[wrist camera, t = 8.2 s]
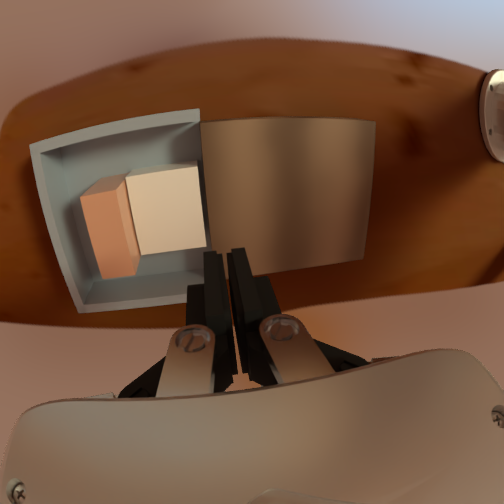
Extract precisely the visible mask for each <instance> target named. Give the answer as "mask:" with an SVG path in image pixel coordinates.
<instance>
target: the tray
mask: <svg viewBox="0 0 504 504" xmlns="http://www.w3.org/2000/svg"><path fill="white" fill-rule="evenodd" d="M199 121H200V112H199V109H190V110H182V111H174V112H167V113H160V114H153V115H147V116H141V117H136V118H130V119H125V120H120V121H115V122H111V123H106V124H102V125H97V126H93V127H89V128H85V129H81V130H77V131H73V132H70V133H66V134H63V135H59V136H56V137H52V138H49V139H46V140H43V141H40V142H36V143H33V144H31V145H29V146H30V152H31V158H32V164H33V169H34V174H35V179H36V184H37V188H38V193H39V197H40V201H41V205H42V209H43V213H44V217H45V220H46V224H47V227H48V231H49V234H50V237H51V241H52V244H53V247H54V250H55V253H56V256H57V259H58V262H59V265H60V268H61V270H62V273H63V276H64V278H65V281H66V284H67V286H68V289H69V291H70V294H71V296H72V299H73V301H74V303H75V306H76V308H77V310H78V313H90V312H101V311H112V310H122V309H132V308H141V307H151V306H160V305H168V304H177V303H185V302H187V286H188V285H193V284H203V283H204V263H203V252H207V251H212V249H211V241H210V232H209V223H208V213H207V204H206V194H205V184H204V173H203V162H202V150H201V138H200V125H199ZM195 160H197V165H198V175H199V185H200V194H201V203H202V212H203V221H204V229H205V238H206V246H207V247H199V248H191V249H184V250H176V251H168V252H161V253H154V254H146V255H141V257H140V260H139V264H138V268H137V271H136V275H132V276H124V277H116V278H108V279H103V278H102V275H101V272H100V269H99V266H98V263H97V260H96V256H95V253H94V250H93V246H92V243H91V239H90V236H89V232H88V228H87V224H86V221H85V217H84V212H83V208H82V204H81V200H80V196H82V195H83V194H84V193H85V192H86V191H87V190H88V189H89V188H90V187H92V186H93V185H94V184H95V183H96V182H97V181H98V180H100V179H101V178H103V177H108V176H113V175H119V174H124V173H130V172H131V171H132V170H133V169H139V168H145V167H151V166H158V165H165V164H172V163H179V162H187V161H195Z"/></svg>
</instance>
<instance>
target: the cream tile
mask: <svg viewBox="0 0 504 504" xmlns="http://www.w3.org/2000/svg"><path fill="white" fill-rule="evenodd" d="M125 178H126V184H127V189H128V195H129V200H130V206H131V211H132V216H133V221H134V225H135V230H136V235H137V239H138V244H139V248H140V252H141V255H146V254H154V253H161V252H168V251H176V250H184V249H191V248H199V247H207V246H206V238H205V229H204V221H203V212H202V203H201V194H200V185H199V175H198V165H197V160H195V161H187V162H179V163H172V164H165V165H158V166H151V167H145V168H139V169H133V170H132V171H131V172H130V173H129V174H128V175H127V176H126V177H125Z"/></svg>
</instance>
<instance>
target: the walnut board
mask: <svg viewBox="0 0 504 504" xmlns="http://www.w3.org/2000/svg"><path fill="white" fill-rule="evenodd" d="M199 125H200V138H201V150H202V162H203V173H204V184H205V194H206V204H207V213H208V223H209V232H210V241H211V249H212V251H217V254H220V253H222V256H223V263H224V270H225V277H226V279H229V276H228V266H227V255H226V253H230V252H231V249H234V248H243V247H245V250H246V254H247V257H248V261H249V264H250V268H251V271H252V275H253V276H254V275H261V274H268V273H275V272H282V271H289V270H296V269H303V268H309V267H316V266H323V265H329V264H335V263H342V262H348V261H354V260H361V259H363V258H364V251H365V244H366V237H367V229H368V221H369V212H370V203H371V193H372V181H373V168H374V152H375V128H376V122H375V121H369V120H363V119H357V118H340V117H309V116H282V117H251V118H234V119H220V120H209V121H199Z"/></svg>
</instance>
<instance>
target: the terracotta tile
mask: <svg viewBox="0 0 504 504" xmlns="http://www.w3.org/2000/svg"><path fill="white" fill-rule="evenodd" d="M128 174H129V173H124V174H119V175H113V176H108V177H103V178H101V179H100V180H98V181H97V182H96V183H95V184H94V185H93V186H92V187H90V188H89V189H88V190H87V191H86V192H85V193H84V194H83V195H82V196H80V200H81V204H82V208H83V212H84V217H85V221H86V224H87V228H88V232H89V236H90V239H91V243H92V246H93V250H94V253H95V256H96V260H97V263H98V266H99V269H100V272H101V275H102V278H103V279H108V278H116V277H124V276H132V275H136V271H137V268H138V264H139V260H140V257H141V252H140V248H139V244H138V239H137V235H136V230H135V225H134V221H133V216H132V211H131V206H130V200H129V195H128V189H127V184H126V178H125V177H126V176H127V175H128Z"/></svg>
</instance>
